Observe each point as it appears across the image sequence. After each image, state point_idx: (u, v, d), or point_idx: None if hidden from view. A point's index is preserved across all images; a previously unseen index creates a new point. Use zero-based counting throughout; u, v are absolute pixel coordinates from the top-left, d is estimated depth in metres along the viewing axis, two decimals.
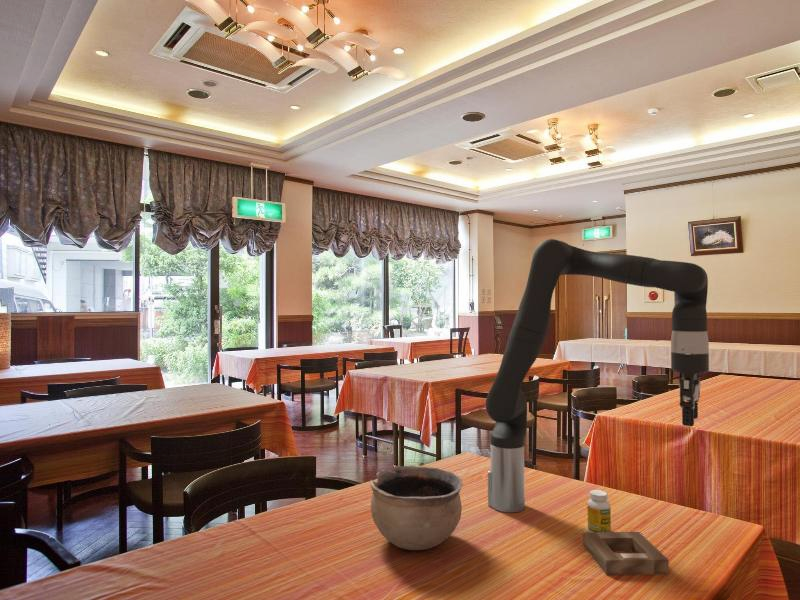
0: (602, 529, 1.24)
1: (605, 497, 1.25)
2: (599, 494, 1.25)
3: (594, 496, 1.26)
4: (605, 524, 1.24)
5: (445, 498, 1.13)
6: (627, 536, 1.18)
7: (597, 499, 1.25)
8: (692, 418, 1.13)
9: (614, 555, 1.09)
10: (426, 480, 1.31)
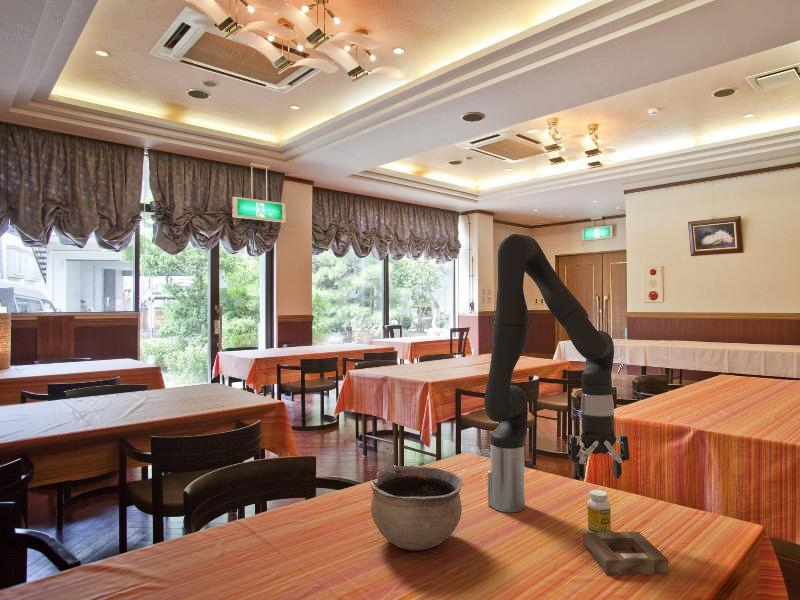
0: (602, 529, 1.24)
1: (605, 497, 1.25)
2: (599, 494, 1.25)
3: (594, 496, 1.26)
4: (605, 524, 1.24)
5: (445, 498, 1.13)
6: (627, 536, 1.18)
7: (596, 499, 1.25)
8: None
9: (614, 555, 1.09)
10: (426, 480, 1.31)
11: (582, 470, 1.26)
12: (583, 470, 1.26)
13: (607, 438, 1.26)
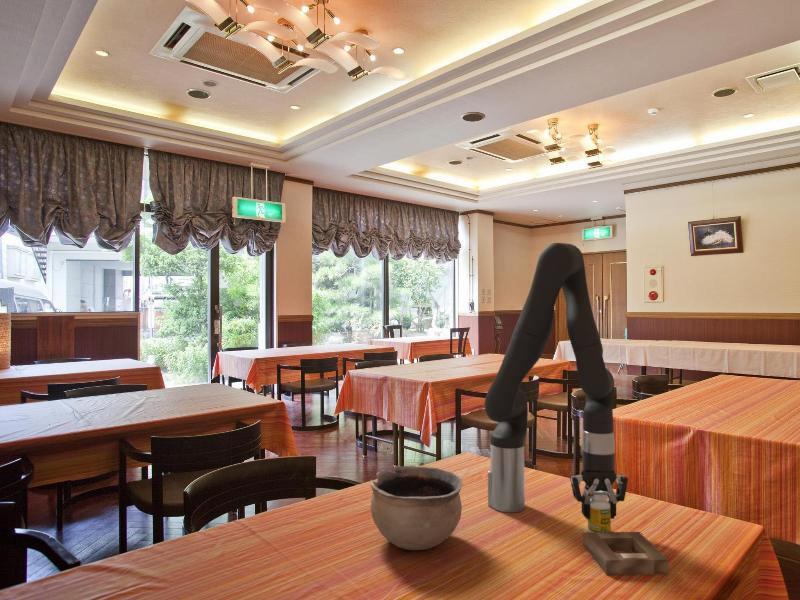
0: (602, 529, 1.24)
1: (605, 497, 1.25)
2: (599, 494, 1.25)
3: (594, 496, 1.26)
4: (605, 524, 1.24)
5: (445, 498, 1.13)
6: (627, 536, 1.18)
7: (596, 498, 1.25)
8: None
9: (614, 555, 1.09)
10: (426, 480, 1.31)
11: (587, 510, 1.26)
12: (588, 510, 1.26)
13: (608, 476, 1.26)
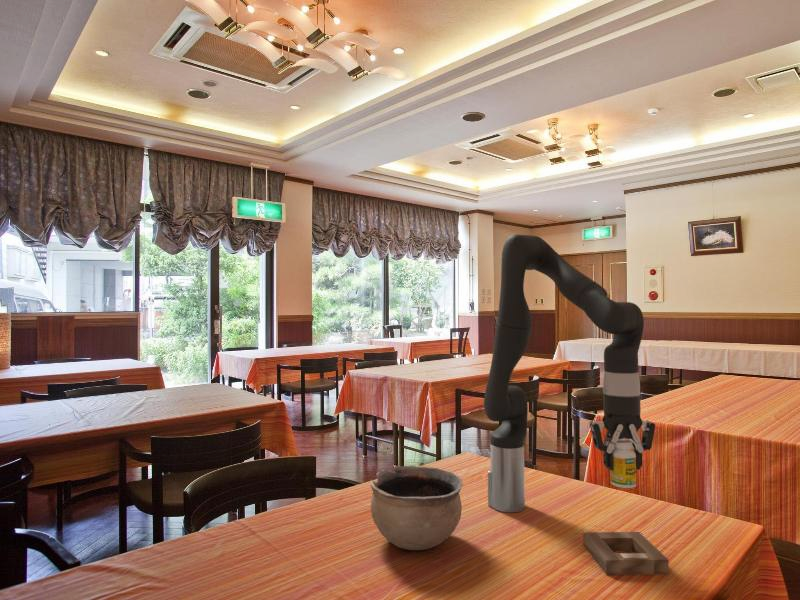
0: (627, 480, 1.11)
1: (630, 445, 1.12)
2: (623, 442, 1.12)
3: (617, 444, 1.12)
4: (631, 474, 1.11)
5: (445, 498, 1.13)
6: (627, 536, 1.18)
7: (620, 447, 1.12)
8: None
9: (614, 555, 1.09)
10: (426, 480, 1.31)
11: (610, 460, 1.13)
12: (611, 460, 1.12)
13: (632, 421, 1.13)
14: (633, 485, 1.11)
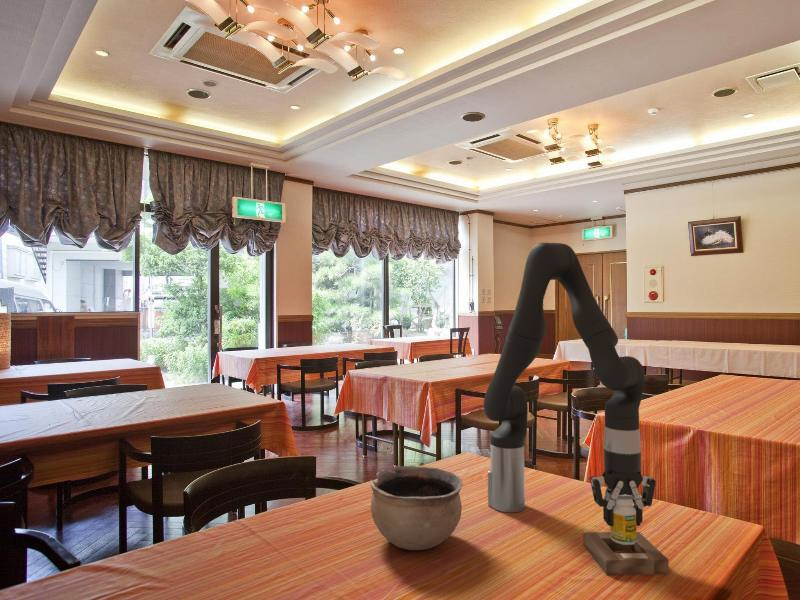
0: (627, 538, 1.11)
1: (630, 501, 1.12)
2: (623, 499, 1.12)
3: (617, 501, 1.12)
4: (631, 531, 1.11)
5: (445, 498, 1.13)
6: None
7: (621, 503, 1.12)
8: None
9: (614, 555, 1.09)
10: (426, 480, 1.31)
11: (610, 516, 1.12)
12: (611, 516, 1.12)
13: (633, 477, 1.12)
14: (633, 542, 1.11)
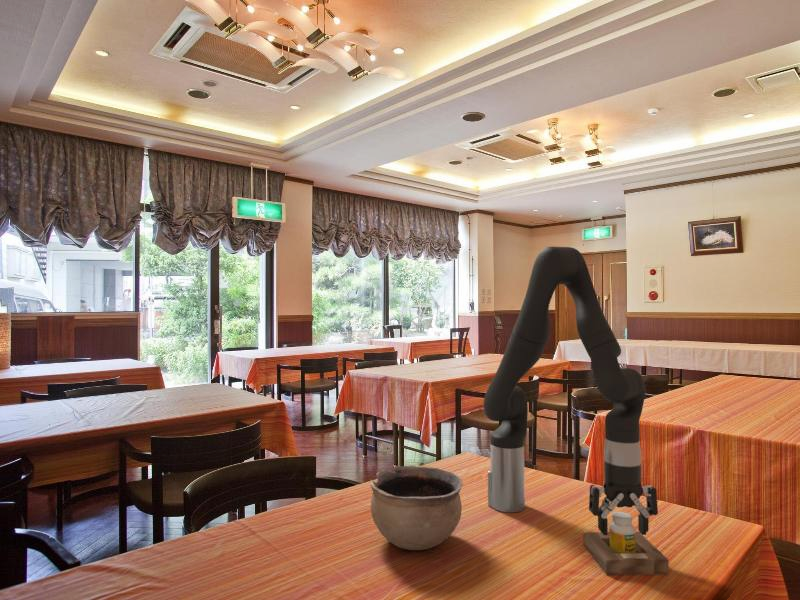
0: None
1: (630, 520, 1.12)
2: (622, 518, 1.12)
3: (617, 520, 1.12)
4: (630, 551, 1.11)
5: (445, 498, 1.13)
6: None
7: (620, 522, 1.12)
8: None
9: (614, 555, 1.09)
10: (426, 480, 1.31)
11: (605, 525, 1.12)
12: (606, 525, 1.12)
13: (633, 490, 1.12)
14: None
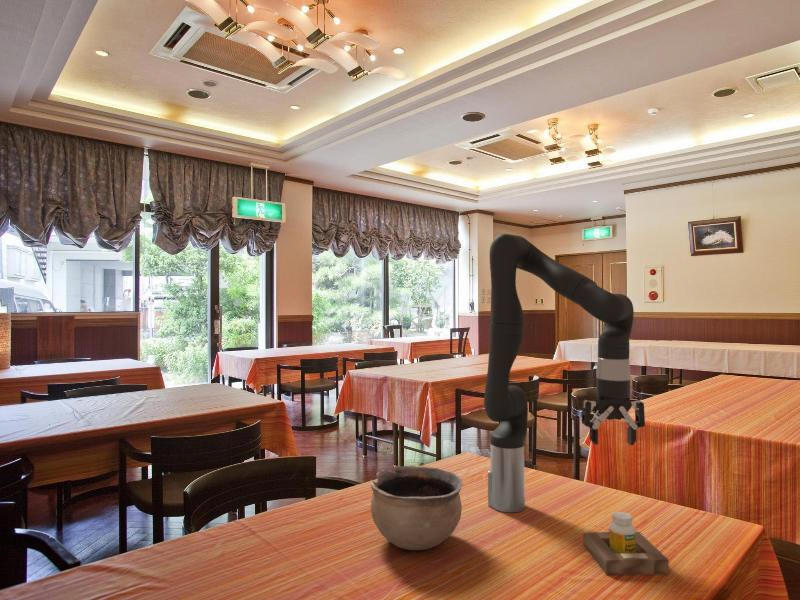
0: None
1: (630, 521, 1.12)
2: (622, 518, 1.12)
3: (617, 520, 1.12)
4: (630, 551, 1.11)
5: (445, 498, 1.13)
6: None
7: (620, 522, 1.12)
8: None
9: (614, 555, 1.09)
10: (426, 480, 1.31)
11: (595, 436, 1.23)
12: (596, 436, 1.23)
13: (622, 404, 1.22)
14: None
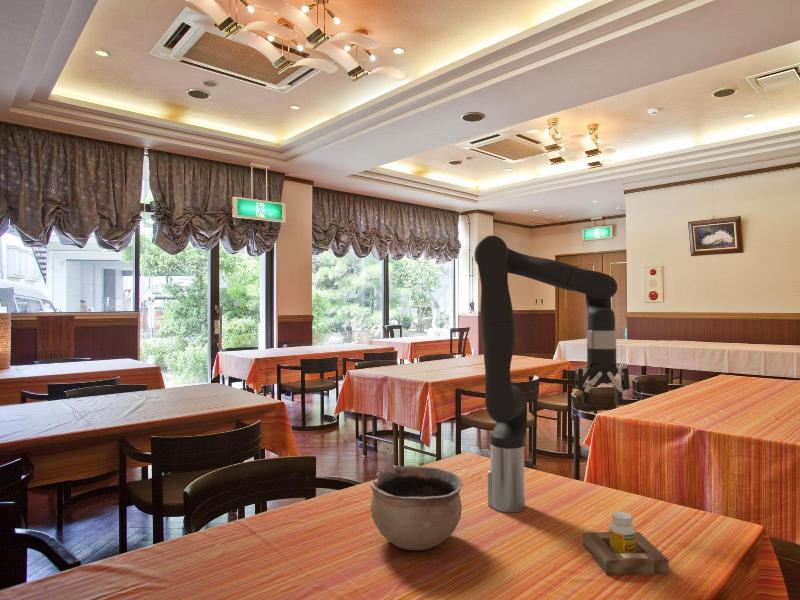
0: None
1: (630, 521, 1.12)
2: (622, 518, 1.12)
3: (617, 520, 1.12)
4: (630, 551, 1.11)
5: (445, 498, 1.13)
6: None
7: (620, 522, 1.12)
8: None
9: (614, 555, 1.09)
10: (426, 480, 1.31)
11: (587, 398, 1.41)
12: (588, 398, 1.41)
13: (610, 370, 1.41)
14: None
